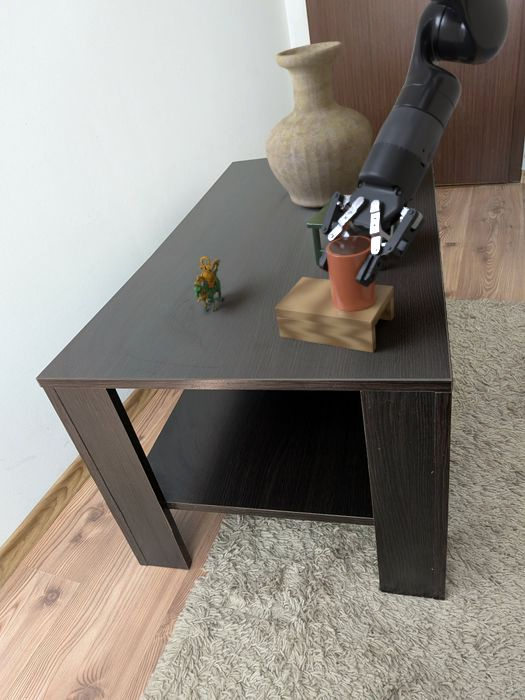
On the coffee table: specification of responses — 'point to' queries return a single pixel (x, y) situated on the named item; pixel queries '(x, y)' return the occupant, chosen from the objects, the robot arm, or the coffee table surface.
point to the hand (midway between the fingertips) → (342, 276)
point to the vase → (317, 131)
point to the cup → (349, 273)
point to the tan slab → (331, 316)
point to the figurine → (208, 283)
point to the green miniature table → (318, 221)
